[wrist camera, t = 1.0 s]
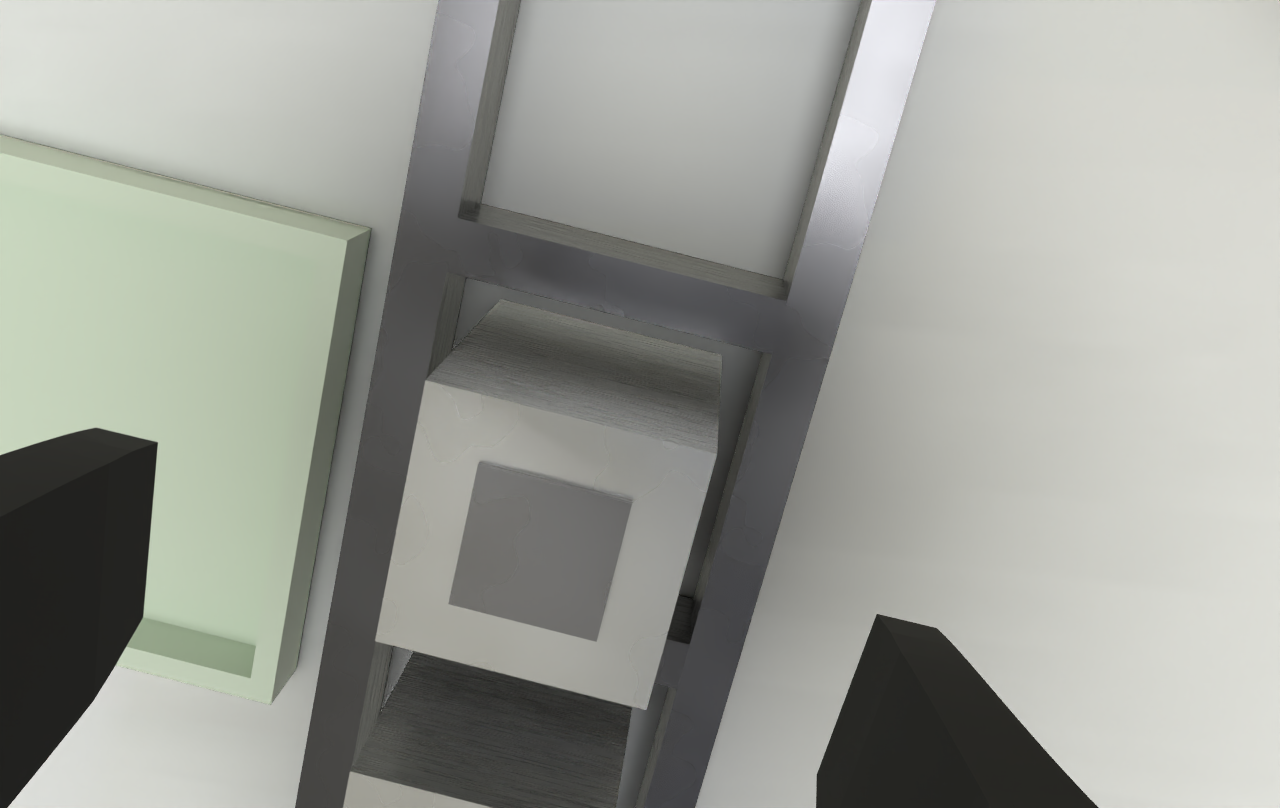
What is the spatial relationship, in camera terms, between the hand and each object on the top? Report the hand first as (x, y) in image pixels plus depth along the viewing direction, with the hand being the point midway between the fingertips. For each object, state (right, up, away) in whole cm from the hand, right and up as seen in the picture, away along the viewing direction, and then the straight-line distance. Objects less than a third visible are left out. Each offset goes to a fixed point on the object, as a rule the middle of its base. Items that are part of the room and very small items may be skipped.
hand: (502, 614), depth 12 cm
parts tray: (-10, +2, +13) cm, 17 cm away
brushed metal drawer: (-1, -5, +15) cm, 15 cm away
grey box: (0, +1, +13) cm, 13 cm away
